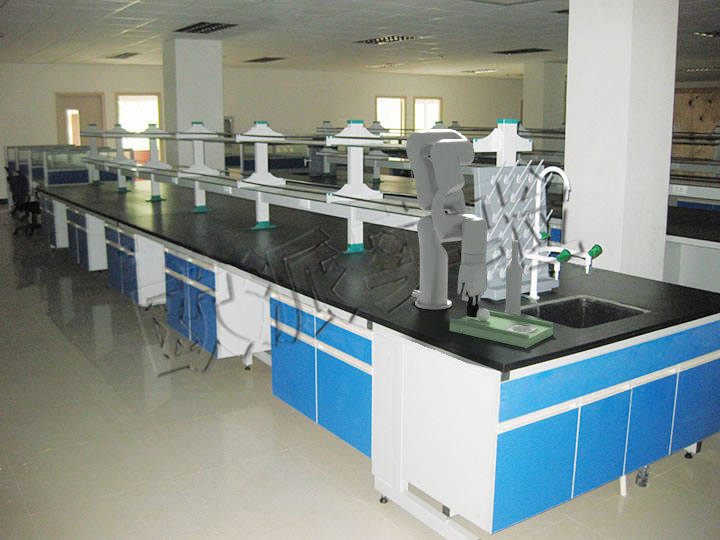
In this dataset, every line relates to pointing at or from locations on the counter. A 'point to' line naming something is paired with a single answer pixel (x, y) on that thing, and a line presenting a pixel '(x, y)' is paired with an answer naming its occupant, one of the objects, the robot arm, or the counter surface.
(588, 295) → the counter surface
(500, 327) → the putting mat
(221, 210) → the counter surface
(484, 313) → the ball
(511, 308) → the bottle
